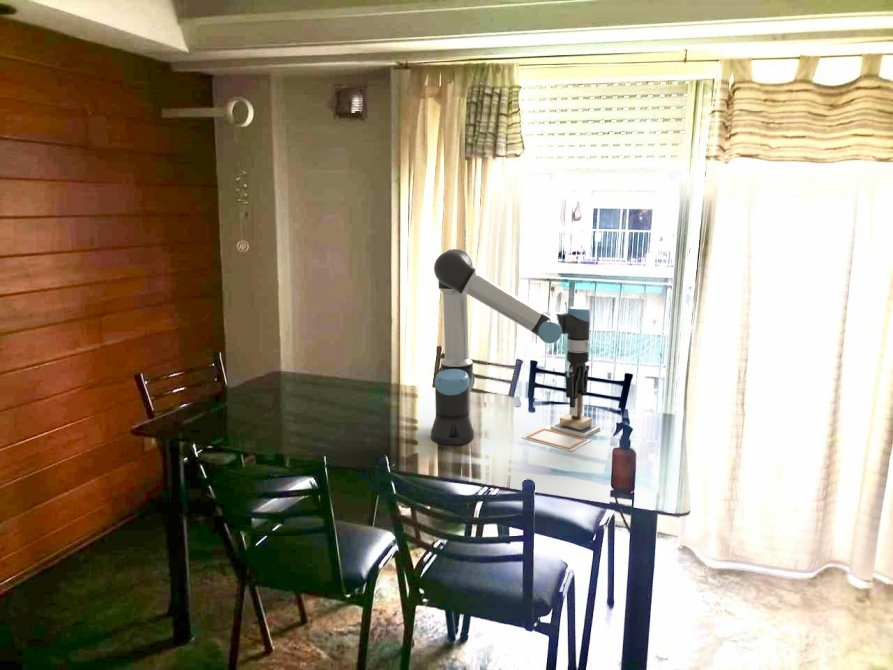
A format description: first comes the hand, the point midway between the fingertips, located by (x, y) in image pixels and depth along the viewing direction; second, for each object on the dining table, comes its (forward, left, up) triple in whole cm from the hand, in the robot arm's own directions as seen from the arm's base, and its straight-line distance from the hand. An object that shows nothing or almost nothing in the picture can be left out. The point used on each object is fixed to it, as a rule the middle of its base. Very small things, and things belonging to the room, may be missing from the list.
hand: (576, 414), depth 238 cm
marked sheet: (0, -13, -6) cm, 14 cm away
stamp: (0, 0, -4) cm, 4 cm away
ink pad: (0, 0, -6) cm, 6 cm away
